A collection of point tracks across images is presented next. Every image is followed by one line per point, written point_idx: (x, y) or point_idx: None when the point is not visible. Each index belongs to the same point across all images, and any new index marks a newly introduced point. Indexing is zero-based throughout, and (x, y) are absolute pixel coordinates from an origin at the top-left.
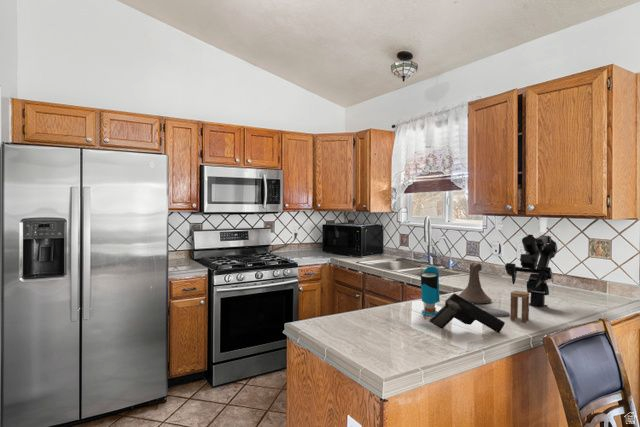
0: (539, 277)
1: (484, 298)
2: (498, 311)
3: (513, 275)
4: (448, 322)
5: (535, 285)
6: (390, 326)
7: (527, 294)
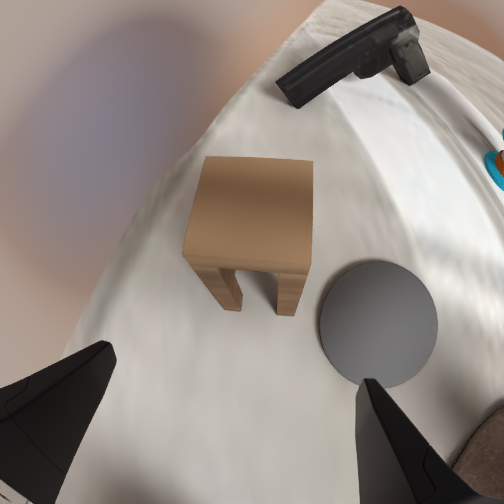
0: (11, 395)
1: (471, 472)
2: (378, 344)
3: (412, 464)
4: (393, 65)
5: (103, 341)
6: (454, 68)
7: (195, 206)
